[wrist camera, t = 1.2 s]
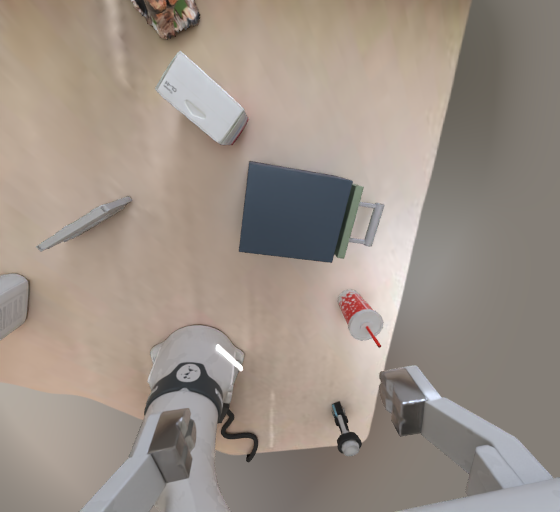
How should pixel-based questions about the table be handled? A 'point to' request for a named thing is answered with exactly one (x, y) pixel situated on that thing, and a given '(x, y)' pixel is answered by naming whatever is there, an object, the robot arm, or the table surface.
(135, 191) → the table surface
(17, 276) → the photo printer
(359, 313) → the beverage cup
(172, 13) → the plant with pod
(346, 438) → the push button
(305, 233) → the cabinet
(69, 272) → the table surface
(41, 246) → the cassette
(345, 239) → the drawer
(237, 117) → the ink box
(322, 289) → the table surface
